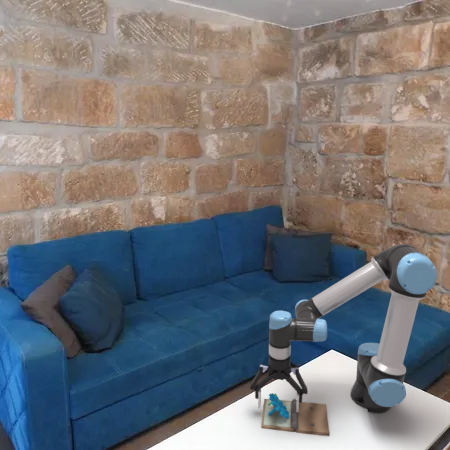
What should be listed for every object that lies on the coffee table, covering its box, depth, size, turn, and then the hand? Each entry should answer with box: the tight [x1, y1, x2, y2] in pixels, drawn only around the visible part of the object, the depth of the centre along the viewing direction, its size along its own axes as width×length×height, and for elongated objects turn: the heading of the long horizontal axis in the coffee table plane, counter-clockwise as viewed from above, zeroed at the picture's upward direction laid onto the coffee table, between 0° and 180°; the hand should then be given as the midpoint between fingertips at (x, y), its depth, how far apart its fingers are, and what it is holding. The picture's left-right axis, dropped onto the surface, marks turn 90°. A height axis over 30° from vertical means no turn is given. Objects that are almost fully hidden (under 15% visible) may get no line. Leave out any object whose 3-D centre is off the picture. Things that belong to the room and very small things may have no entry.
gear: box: [268, 392, 290, 418], centre depth 156 cm, size 11×6×10 cm
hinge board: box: [261, 398, 330, 437], centre depth 157 cm, size 23×16×2 cm
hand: (278, 407), depth 157 cm, fingers open, 13 cm apart
